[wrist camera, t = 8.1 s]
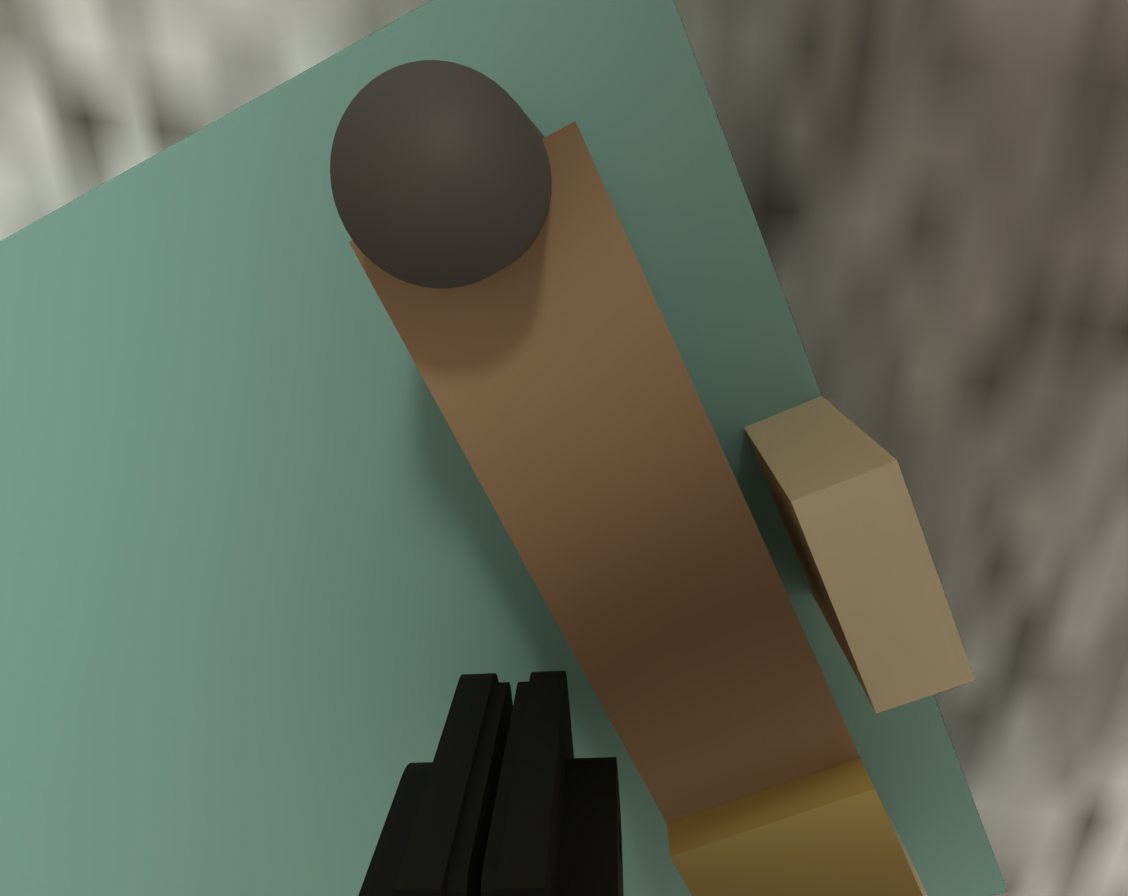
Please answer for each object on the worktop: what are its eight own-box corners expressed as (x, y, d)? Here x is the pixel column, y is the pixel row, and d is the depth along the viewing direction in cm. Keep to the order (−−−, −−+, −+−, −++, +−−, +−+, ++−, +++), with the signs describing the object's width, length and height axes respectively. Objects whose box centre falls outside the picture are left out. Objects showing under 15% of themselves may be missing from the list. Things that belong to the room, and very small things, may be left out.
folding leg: (387, 171, 10) (255, 146, 6) (554, 79, 10) (518, -6, 6) (705, 782, 13) (748, 1025, 9) (847, 733, 12) (955, 966, 9)
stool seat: (627, -56, 11) (645, -293, 6) (957, 807, 15) (1138, 1113, 10) (-355, 479, 15) (-885, 627, 10) (131, 1058, 19) (-49, 1379, 14)
